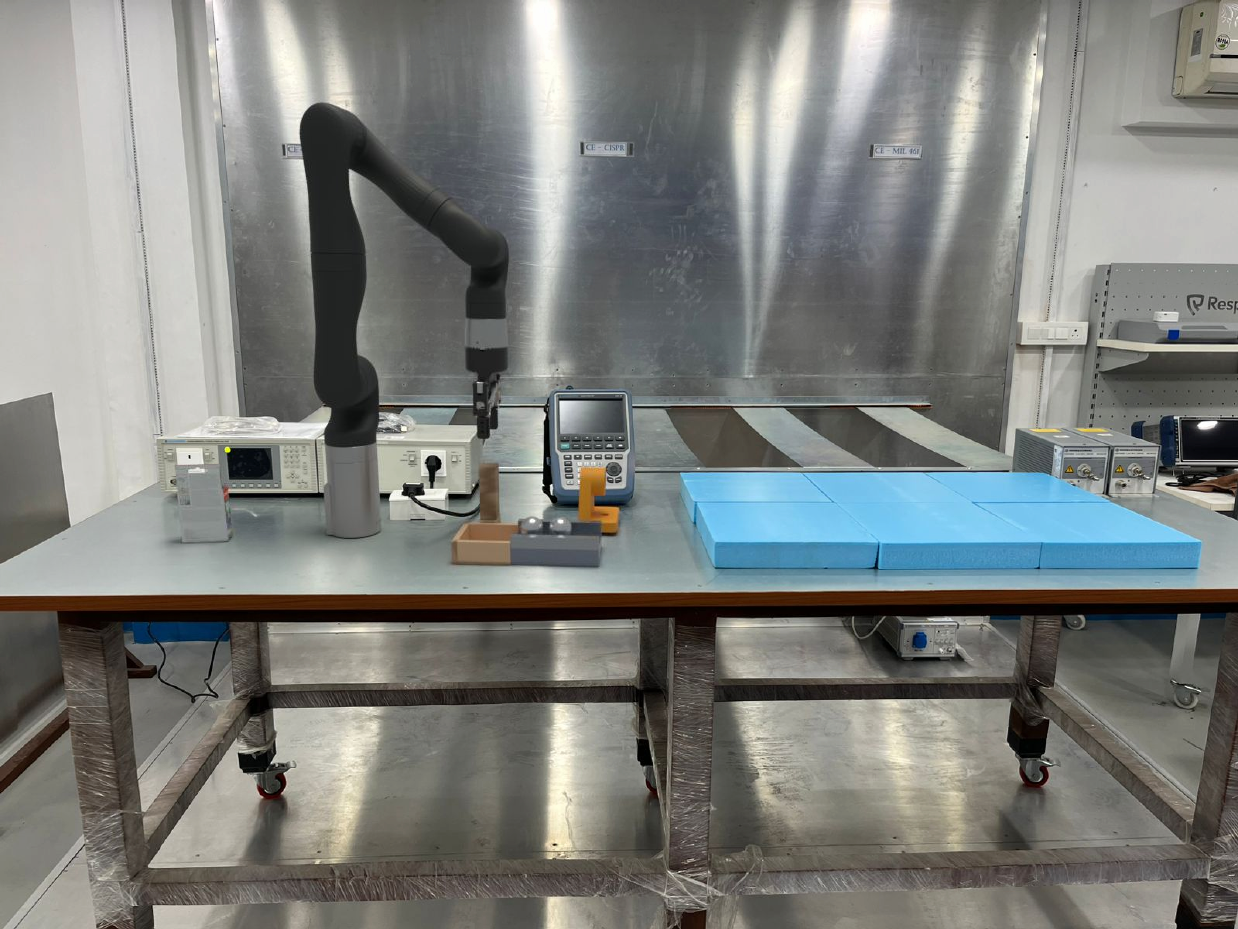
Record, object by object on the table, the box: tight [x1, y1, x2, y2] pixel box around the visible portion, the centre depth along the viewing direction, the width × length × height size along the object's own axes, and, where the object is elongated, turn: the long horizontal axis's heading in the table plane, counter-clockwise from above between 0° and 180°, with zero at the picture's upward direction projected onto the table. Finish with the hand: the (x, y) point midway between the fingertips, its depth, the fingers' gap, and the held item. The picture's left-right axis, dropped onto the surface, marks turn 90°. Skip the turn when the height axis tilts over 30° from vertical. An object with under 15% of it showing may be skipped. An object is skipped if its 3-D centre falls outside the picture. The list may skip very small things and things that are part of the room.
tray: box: [450, 521, 518, 566], centre depth 148 cm, size 10×11×4 cm
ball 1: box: [520, 516, 543, 535], centre depth 147 cm, size 4×4×4 cm
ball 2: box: [549, 516, 572, 535], centre depth 147 cm, size 4×4×4 cm
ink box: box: [174, 463, 234, 544], centre depth 152 cm, size 4×8×15 cm, turn 100°
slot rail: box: [510, 518, 603, 568], centre depth 148 cm, size 15×10×5 cm
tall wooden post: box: [478, 462, 502, 523], centre depth 156 cm, size 3×6×14 cm, turn 178°
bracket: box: [577, 466, 620, 534], centre depth 164 cm, size 11×7×12 cm, turn 177°
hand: (487, 433), depth 153 cm, fingers open, 8 cm apart
